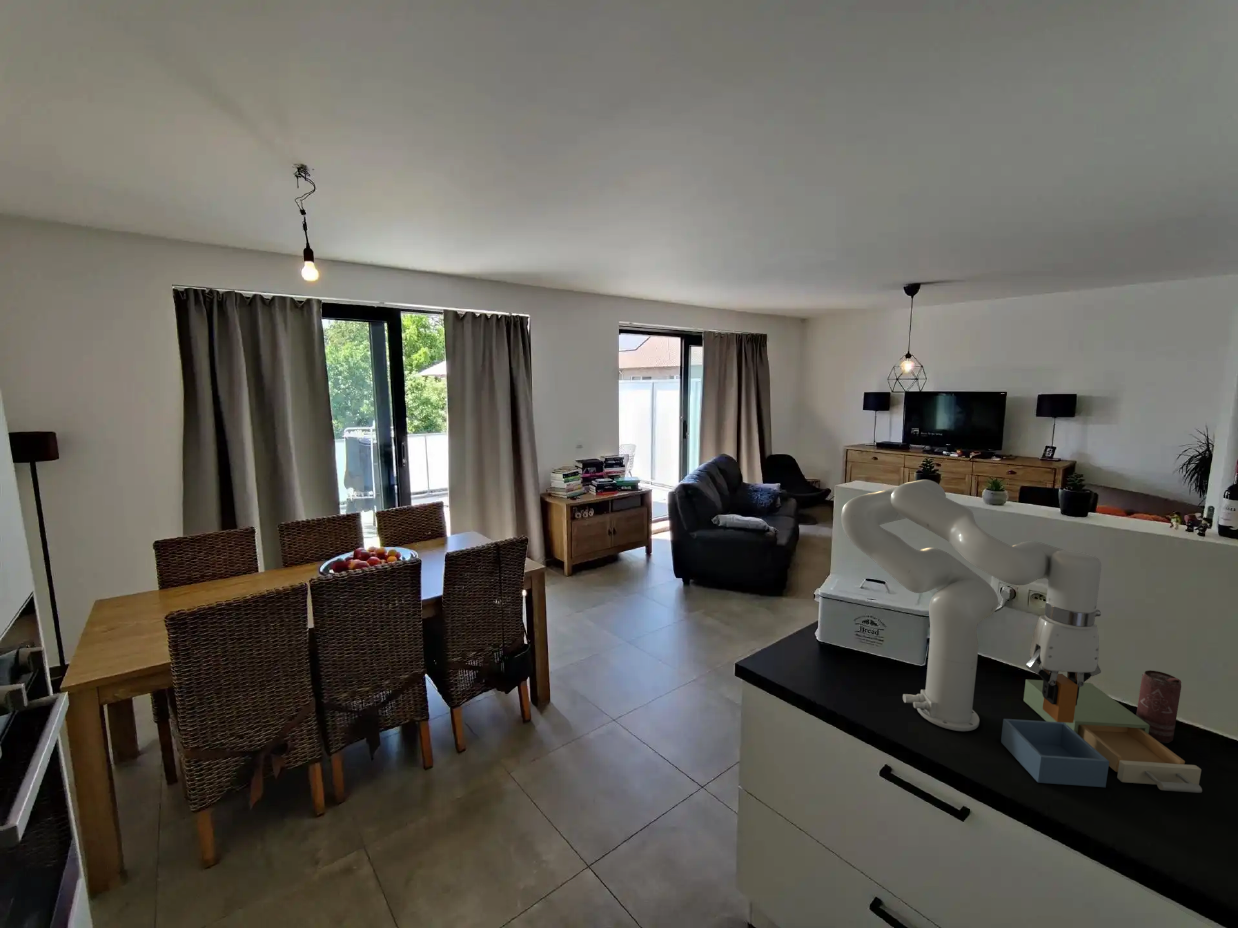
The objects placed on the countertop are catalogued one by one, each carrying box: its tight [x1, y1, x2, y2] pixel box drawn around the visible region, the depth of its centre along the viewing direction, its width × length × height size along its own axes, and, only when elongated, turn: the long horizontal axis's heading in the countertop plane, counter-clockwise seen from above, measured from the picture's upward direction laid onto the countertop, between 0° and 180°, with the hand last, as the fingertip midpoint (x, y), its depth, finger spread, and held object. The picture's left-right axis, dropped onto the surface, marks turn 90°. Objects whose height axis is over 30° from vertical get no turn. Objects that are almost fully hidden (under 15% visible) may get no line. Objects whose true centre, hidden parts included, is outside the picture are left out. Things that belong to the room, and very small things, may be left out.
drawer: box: [1078, 725, 1203, 794], centre depth 109 cm, size 20×13×4 cm
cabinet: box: [1023, 679, 1150, 734], centre depth 123 cm, size 17×15×6 cm
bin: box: [1000, 718, 1110, 788], centre depth 110 cm, size 12×12×6 cm
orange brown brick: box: [1043, 672, 1078, 723], centre depth 108 cm, size 3×4×8 cm
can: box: [1135, 669, 1182, 744], centre depth 118 cm, size 6×6×14 cm
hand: (1059, 700), depth 108 cm, fingers closed on orange brown brick, 3 cm apart
